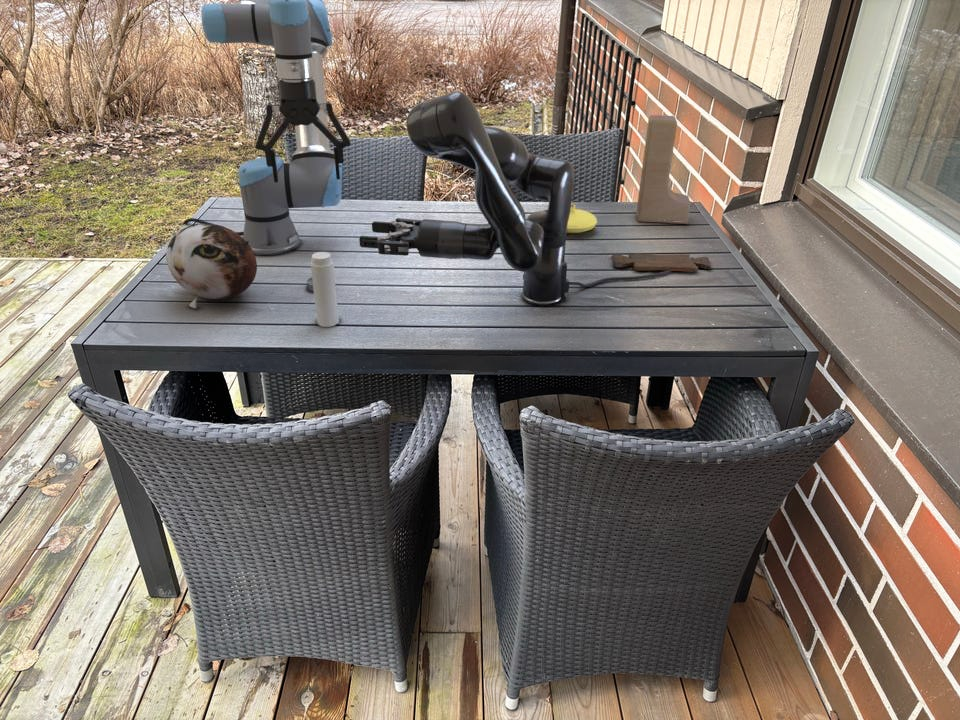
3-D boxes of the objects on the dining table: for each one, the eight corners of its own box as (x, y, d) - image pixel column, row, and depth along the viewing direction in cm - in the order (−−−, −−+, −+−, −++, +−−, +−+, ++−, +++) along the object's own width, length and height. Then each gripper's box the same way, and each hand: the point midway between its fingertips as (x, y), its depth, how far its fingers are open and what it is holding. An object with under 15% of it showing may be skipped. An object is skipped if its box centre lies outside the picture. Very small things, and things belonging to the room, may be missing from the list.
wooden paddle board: (715, 274, 184) (705, 259, 193) (716, 268, 183) (706, 253, 192) (615, 271, 185) (610, 256, 193) (615, 265, 184) (610, 250, 192)
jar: (322, 328, 156) (314, 261, 148) (314, 320, 159) (306, 253, 151) (342, 323, 158) (336, 256, 150) (334, 315, 162) (327, 249, 153)
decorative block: (687, 224, 215) (705, 122, 200) (637, 221, 217) (650, 120, 202) (685, 216, 222) (701, 116, 206) (636, 213, 223) (648, 114, 208)
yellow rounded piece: (559, 216, 220) (561, 193, 217) (605, 227, 212) (608, 204, 209) (532, 230, 209) (533, 207, 206) (580, 242, 201) (582, 218, 198)
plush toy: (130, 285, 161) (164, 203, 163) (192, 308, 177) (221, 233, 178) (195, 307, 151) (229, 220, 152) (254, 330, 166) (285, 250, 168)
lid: (317, 280, 177) (316, 274, 176) (336, 285, 175) (335, 279, 174) (302, 289, 173) (301, 282, 172) (321, 294, 171) (320, 287, 170)
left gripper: (233, 83, 144) (248, 186, 155) (357, 80, 149) (364, 181, 160) (235, 77, 151) (251, 176, 162) (355, 74, 155) (362, 171, 166)
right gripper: (450, 210, 148) (374, 205, 150) (436, 234, 136) (354, 228, 138) (450, 244, 152) (377, 238, 154) (436, 270, 140) (356, 264, 142)
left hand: (307, 179), depth 161 cm, fingers open, 13 cm apart
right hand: (366, 233), depth 146 cm, fingers open, 8 cm apart
